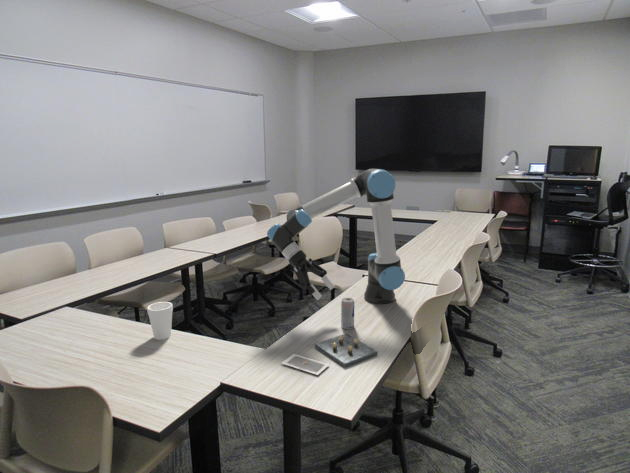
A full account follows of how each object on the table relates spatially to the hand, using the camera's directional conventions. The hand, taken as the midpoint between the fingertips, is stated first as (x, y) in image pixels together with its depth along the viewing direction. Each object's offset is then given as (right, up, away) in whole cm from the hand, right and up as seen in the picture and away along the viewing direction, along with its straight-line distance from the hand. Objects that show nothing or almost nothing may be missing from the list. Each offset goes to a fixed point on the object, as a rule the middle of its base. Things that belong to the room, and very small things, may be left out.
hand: (326, 293), depth 175 cm
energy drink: (+9, -14, -1) cm, 17 cm away
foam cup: (-67, -17, -7) cm, 69 cm away
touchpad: (-8, -22, -31) cm, 39 cm away
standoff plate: (+6, -19, -21) cm, 29 cm away
